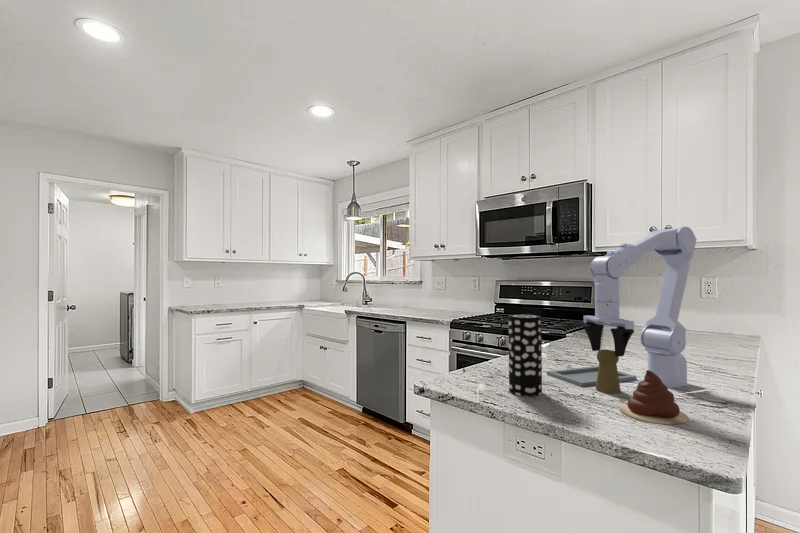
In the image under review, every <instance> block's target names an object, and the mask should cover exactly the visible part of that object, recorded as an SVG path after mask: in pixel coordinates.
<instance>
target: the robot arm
mask: <svg viewBox="0 0 800 533" xmlns="http://www.w3.org/2000/svg"><path fill="white" fill-rule="evenodd" d="M697 240H698V239H697V237H696V235H695V233H694V231H693V230H692V229H691V227H689V226H682V227H674V228H665V229H657V228H656V229H654V230H652V231H650V232H649V231H648V232H647V235H645V236H644V237H641V239H639V240H638V241H636V242H634V243H633V244H632V243H621V244H619V245H618V248H616V249H613V250H609V251H607V252H606V254H605V255H603V256H596V257H595V258H594V259H593V260H592V261H591V262H590V263H591V264H590V266H589V268H588V270H589V272H590V274H591V276H592V282H593V283H594V306H595V308H594V315H589V314H588V315H583V323H584V324H582V328H583V330H584V331H585V333H586V335H587V337H588V340H589V343H590V347H591V350H592V352H598V351H600V350H601V347H602V334H603V330H604V327H605V326H607V327H613V328H610V331H611V334H612V337H613V338H612V339H613V343H614V344H613V345H614V351H615V355H616V356H618V357H619V358H620V357H624V356H625V353H626V348H627V346H628V343H629V341H630V339H631V337H632V335H633V334H634V333H635V321H634V320H628V319H624V318H620V278H621V277H622V276H623V275H624V273H625V270H626V269H628V268H630V267H631V266H634V265H636V264H637V263H638V262H639V261H640V260H641V256H642V255H644V254H646V253H647V254H648V252H651V251H654V253H655V254H656V255H657V256H658V257H659V258H660V259H661V261H665V263H666V264H667V265H666V268H665V272H664V273H665V274H664V277H663V281H662V286H661V290H660V294H659V299H658V304H657V307H656V311H655V315H654V316H653V317H651V318H650V319H648V320H647V321H646V322H645V325H644V328H643V329H642V331H641V333H640V335H639V336H640V338H639V339H640V344H641V345H642V346H643V347H644V351H646V352H647V370H649V371H651V372H653V373H654V374H656V375H657V376H658V377H659V378H660V379H661V381H662V382H663V384H664V385H666V386H667V388H668V389H671V388H677V387H684V386H690V385H691V384H690V383H688V365H687V364H688V362H687V360H686V359H687V358H686V357H685V356H684V355H683V354H682V352H683V351H684V350H685V348H686V346H687V345H686V344H687V340H686V332H687V328H686V327H685V326H684V325H683V324H682V323H681V322H680V321H679V318H680V317H679V316H680V311H681V309H682V308H681V307H682V303H683V298H684V293H685V290H686V285H687V279H688V276H689V272H690V266H691V260H692V259H693V257H694V252H695V249H696V244H697ZM643 380H644V379H641V380H640V382H641V381H643Z"/></svg>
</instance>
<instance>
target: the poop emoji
mask: <svg viewBox="0 0 800 533" xmlns="http://www.w3.org/2000/svg"><path fill="white" fill-rule="evenodd" d="M642 380H643V381H640V382H638V384H637V386H636V388H635V390H634V391H633V394H632V396H631V397H629V399H628V400H627V403H626V404H627V405H628V408H629V409H630V410H631V411H632V412H634V413H636V414H640V415H645V416H653V415H658V416H661V417H665V418H674V417H677V416H678V415H679V413H680V412H681V410H680V407H679V404H677V403H676V402H675V396H674V393H673V392H672V391H671V390H669V388H667V386H666V385H664V384H663V382H662V381H661V379H660V378H659V377H658V376H657V375H656V374H654V373H653V372H651V371H649V370H648V369H646V371H645V375H644V377H643V379H642Z"/></svg>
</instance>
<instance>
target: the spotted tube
mask: <svg viewBox="0 0 800 533" xmlns="http://www.w3.org/2000/svg"><path fill="white" fill-rule="evenodd" d="M542 343H543V342H542V316H541V315H536V314H508V391H509V393H511V394H512V395H515V396H519V397H538V396H541V395H543V377H542V376H543V369H542V367H543V364H542V363H543V361H542V360H543V357H542V356H543V355H542V354H543V352H542V350H543V349H542Z"/></svg>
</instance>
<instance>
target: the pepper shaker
mask: <svg viewBox="0 0 800 533" xmlns="http://www.w3.org/2000/svg"><path fill="white" fill-rule="evenodd" d="M596 358H597V361H598V366H599V367H598V375H597V382H596V385H595V391H596V392H600V393H603V394H611V395H613V394H614V395H616V394H620V393H621V385H620V382H619V377H618V365H617V364H618V363H619V360H620V356H619V357H618V356H616V355H615V350H611V349H600V351H597V353H596Z"/></svg>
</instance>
